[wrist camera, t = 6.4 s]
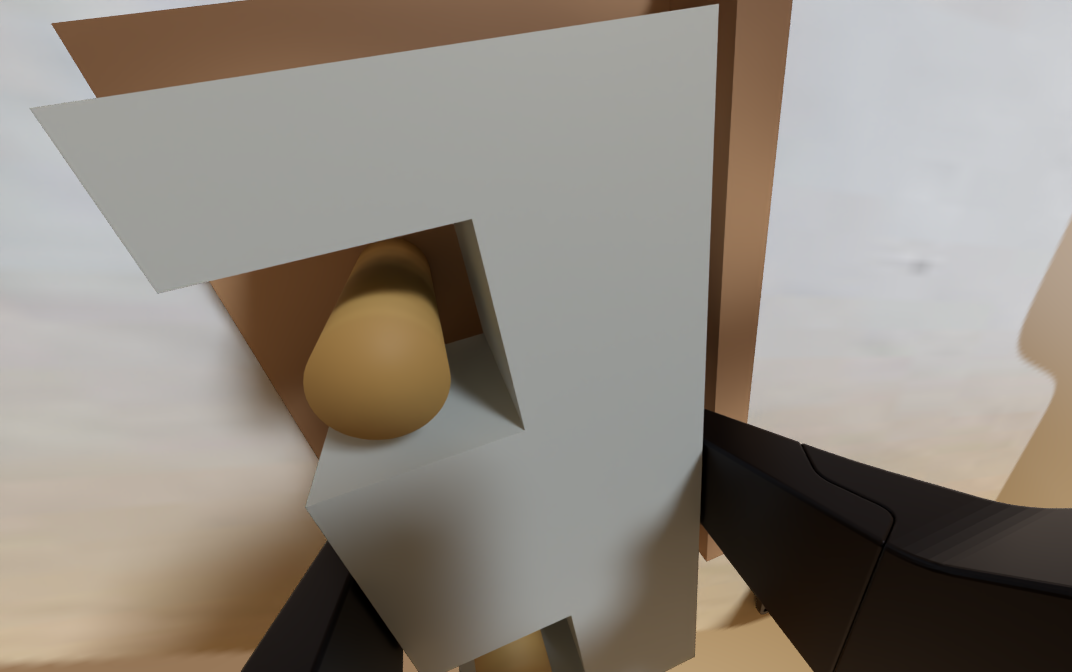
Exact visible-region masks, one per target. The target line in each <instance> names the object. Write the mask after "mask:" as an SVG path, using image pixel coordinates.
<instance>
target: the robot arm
mask: <svg viewBox="0 0 1072 672" xmlns="http://www.w3.org/2000/svg"><path fill="white" fill-rule="evenodd" d="M700 523H701V525H702V526H703V527H704V529H705V530H706V531H707V532H708V534H709V535H710V536H711V538H712V539H713V540H714V542H715V543H716V544H717V546H718V547H719V548H720V550H721V551H722V552H723V553H724V555H725V556H726V557H727V559H728V560H729V561H730V563H731V564H732V565H733V567H734V568H735V569H736V570H737V572H738V573H739V574H740V576H741V577H742V578H743V580H744V581H745V582H746V584H747V585H748V586H749V588H750V589H751V590H752V591H753V593H754V594H755V595H756V597H757V601H756V609H757V610H758V611H759V613H760V614H766V613H768V612H769V614H770V615H771V616H772V618H773V619H774V620H775V622H776V623H777V624H778V625H779V627H780V628H781V629H782V631H783V632H784V633H785V635H786V636H787V637H788V639H789V640H790V641H791V643H792V644H793V645H794V646H795V648H796V649H797V650H798V652H799V653H800V654H801V656H802V657H803V658H804V660H805V661H806V662H807V663H808V665H809V666H810V667H811V669H812V670H813V671H814V672H1072V508H1063V509H1062V508H1035V507H1025V506H1017V505H1010V504H1005V503H1000V502H996V501H992V500H988V499H984V498H980V497H976V496H973V495H969V494H966V493H962V492H959V491H956V490H952V489H949V488H945V487H942V486H938V485H935V484H931V483H928V482H924V481H921V480H917V479H914V478H910V477H907V476H903V475H900V474H896V473H893V472H889V471H886V470H883V469H880V468H876V467H873V466H870V465H866V464H863V463H860V462H856V461H853V460H850V459H847V458H844V457H841V456H838V455H835V454H832V453H829V452H826V451H823V450H821V449H818V448H815V447H812V446H809V445H807V444H800V443H799V442H798V441H795V440H792V439H789V438H786V437H784V436H781V435H778V434H775V433H772V432H769V431H767V430H764V429H761V428H758V427H755V426H753V425H750V424H747V423H744V422H741V421H738V420H736V419H733V418H730V417H727V416H724V415H721V414H719V413H716V412H713V411H710V410H707V409H705V408H704V421H703V448H702V476H701V503H700ZM241 672H403V649H402V647H401V646H400V644H399V643H398V641H397V640H396V638H395V637H394V635H393V634H392V633H391V631H390V630H389V628H388V627H387V625H386V624H385V622H384V621H383V620H382V618H381V617H380V615H379V614H378V612H377V611H376V609H375V608H374V607H373V605H372V604H371V602H370V601H369V599H368V598H367V596H366V595H365V593H364V592H363V591H362V589H361V588H360V586H359V585H358V583H357V582H356V580H355V579H354V578H353V576H352V575H351V573H350V572H349V570H348V569H347V567H346V566H345V565H344V563H343V562H342V560H341V559H340V557H339V556H338V554H337V553H336V551H335V550H334V549H333V547H332V546H331V544H330V543H329V541H328V540H327V541H326V543H325V544H324V546H323V548H322V549H321V551H320V552H319V554H318V555H317V557H316V558H315V560H314V561H313V563H312V564H311V566H310V567H309V569H308V570H307V572H306V573H305V575H304V576H303V578H302V579H301V581H300V582H299V584H298V585H297V587H296V588H295V590H294V591H293V593H292V594H291V596H290V597H289V599H288V601H287V602H286V604H285V605H284V607H283V608H282V610H281V611H280V613H279V614H278V616H277V617H276V619H275V620H274V622H273V623H272V625H271V626H270V628H269V629H268V631H267V632H266V634H265V635H264V637H263V638H262V640H261V641H260V643H259V644H258V646H257V647H256V649H255V651H254V652H253V654H252V655H251V657H250V658H249V660H248V661H247V663H246V664H245V666H244V667H243V669H242V670H241Z"/></svg>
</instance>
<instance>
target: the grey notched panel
mask: <svg viewBox="0 0 1072 672" xmlns="http://www.w3.org/2000/svg"><path fill="white" fill-rule="evenodd" d="M718 13H719V4H714V5H707V6H701V7H694V8H688V9H681V10H674V11H668V12H661V13H655V14H648V15H641V16H635V17H628V18H622V19H615V20H608V21H602V22H595V23H589V24H582V25H576V26H569V27H562V28H556V29H549V30H543V31H536V32H529V33H523V34H516V35H510V36H503V37H496V38H490V39H483V40H477V41H470V42H463V43H457V44H450V45H444V46H437V47H431V48H424V49H417V50H411V51H404V52H398V53H391V54H384V55H378V56H371V57H365V58H358V59H351V60H345V61H338V62H332V63H325V64H318V65H312V66H305V67H299V68H292V69H286V70H279V71H272V72H266V73H259V74H253V75H246V76H239V77H233V78H226V79H220V80H213V81H206V82H200V83H193V84H187V85H180V86H173V87H167V88H160V89H154V90H147V91H141V92H134V93H127V94H121V95H114V96H108V97H101V98H94V99H88V100H81V101H75V102H68V103H61V104H55V105H48V106H42V107H35V108H30V110H31V111H32V113H33V114H34V116H35V117H36V118H37V120H38V121H39V123H40V124H41V126H42V127H43V129H44V130H45V131H46V133H47V134H48V136H49V137H50V139H51V140H52V142H53V143H54V145H55V146H56V147H57V149H58V150H59V152H60V153H61V155H62V156H63V158H64V159H65V160H66V162H67V163H68V165H69V166H70V168H71V169H72V171H73V172H74V173H75V175H76V176H77V178H78V179H79V181H80V182H81V184H82V185H83V187H84V188H85V189H86V191H87V192H88V194H89V195H90V197H91V198H92V200H93V201H94V202H95V204H96V205H97V207H98V208H99V210H100V211H101V213H102V214H103V215H104V217H105V218H106V220H107V221H108V223H109V224H110V226H111V227H112V229H113V230H114V231H115V233H116V234H117V236H118V237H119V239H120V240H121V242H122V243H123V244H124V246H125V247H126V249H127V250H128V252H129V253H130V255H131V256H132V257H133V259H134V260H135V262H136V263H137V265H138V266H139V268H140V269H141V271H142V272H143V273H144V275H145V276H146V278H147V279H148V281H149V282H150V284H151V285H152V286H153V288H154V289H155V291H156V292H157V294H158V293H163V292H167V291H171V290H175V289H179V288H184V287H188V286H192V285H196V284H200V283H205V282H209V281H213V280H217V279H221V278H226V277H230V276H234V275H238V274H242V273H247V272H251V271H255V270H259V269H263V268H268V267H272V266H276V265H280V264H284V263H289V262H293V261H297V260H301V259H305V258H310V257H314V256H318V255H322V254H326V253H331V252H335V251H339V250H343V249H348V248H352V247H356V246H360V245H364V244H369V243H373V242H377V241H381V240H385V239H390V238H394V237H398V236H402V235H406V234H411V233H415V232H419V231H423V230H427V229H432V228H436V227H440V226H444V225H448V224H454V227H455V231H456V235H457V238H458V242H459V246H460V249H461V253H462V256H463V260H464V264H465V267H466V271H467V275H468V278H469V282H470V286H471V289H472V293H473V297H474V300H475V304H476V308H477V311H478V315H479V318H480V322H481V326H482V329H483V333H482V334H479V335H476V336H472V337H469V338H465V339H462V340H459V341H455V342H452V343H448V344H445V348H446V353H447V358H448V364H449V369H450V376H451V383H450V390H449V394H448V397H447V399H446V401H445V403H444V405H443V407H442V408H441V410H440V411H439V412H438V414H437V415H436V416H435V417H434V418H433V419H432V420H431V421H429V422H428V423H427V424H426V425H424V426H423V427H421V428H420V429H418V430H416V431H414V432H412V433H409V434H407V435H404V436H400V437H397V438H392V439H384V440H367V439H359V438H355V437H351V436H348V435H345V434H342V433H340V432H338V431H336V430H334V429H332V428H331V427H329V428H328V432H327V435H326V439H325V442H324V445H323V449H322V452H321V455H320V459H319V462H318V466H317V469H316V472H315V476H314V479H313V482H312V486H311V489H310V493H309V496H308V499H307V503H306V506H305V508H306V509H307V511H308V512H309V514H310V515H311V517H312V518H313V520H314V521H315V523H316V524H317V525H318V527H319V528H320V530H321V531H322V533H323V534H324V536H325V537H326V538H327V540H328V541H329V543H330V544H331V546H332V547H333V549H334V550H335V551H336V553H337V554H338V556H339V557H340V559H341V560H342V562H343V563H344V565H345V566H346V567H347V569H348V570H349V572H350V573H351V575H352V576H353V578H354V579H355V580H356V582H357V583H358V585H359V586H360V588H361V589H362V591H363V592H364V593H365V595H366V596H367V598H368V599H369V601H370V602H371V604H372V605H373V607H374V608H375V609H376V611H377V612H378V614H379V615H380V617H381V618H382V620H383V621H384V622H385V624H386V625H387V627H388V628H389V630H390V631H391V633H392V634H393V635H394V637H395V638H396V640H397V641H398V643H399V644H400V646H401V647H402V649H403V650H404V651H405V653H406V654H407V656H408V657H409V659H410V660H411V662H412V663H413V664H414V666H415V667H416V669H417V670H418V672H447V671H449V670H451V669H454V668H456V667H458V666H459V672H476V668H475V661H474V659H476V658H478V657H480V656H482V655H485V654H487V653H489V652H491V651H493V650H496V649H498V648H500V647H502V646H504V645H507V644H509V643H511V642H513V641H516V640H518V639H520V638H522V637H524V636H527V635H529V634H531V633H533V632H535V631H538V630H541V634H542V637H543V641H544V644H545V648H546V652H547V655H548V659H549V662H550V666H551V670H552V672H665V671H667V670H669V669H671V668H673V667H675V666H677V665H679V664H681V663H683V662H685V661H687V660H689V659H691V658H693V657H695V639H696V637H695V636H696V611H697V584H698V557H699V530H700V503H701V476H702V448H703V421H704V394H705V367H706V340H707V312H708V285H709V258H710V231H711V204H712V176H713V149H714V122H715V95H716V68H717V40H718Z"/></svg>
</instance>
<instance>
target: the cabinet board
mask: <svg viewBox="0 0 1072 672" xmlns="http://www.w3.org/2000/svg"><path fill="white" fill-rule="evenodd" d="M792 1H793V0H245V1H236V2H228V3H219V4H211V5H202V6H194V7H186V8H177V9H169V10H160V11H152V12H143V13H135V14H127V15H118V16H110V17H101V18H93V19H84V20H76V21H68V22H59V23H51V24H52V26H53V27H54V29H55V31H56V32H57V34H58V35H59V37H60V39H61V40H62V42H63V44H64V45H65V47H66V49H67V50H68V52H69V53H70V55H71V57H72V58H73V60H74V62H75V63H76V65H77V66H78V68H79V70H80V71H81V73H82V75H83V76H84V78H85V79H86V81H87V83H88V84H89V86H90V88H91V89H92V91H93V93H94V94H95V96H96V97H97V98H101V97H108V96H114V95H121V94H127V93H134V92H141V91H147V90H154V89H160V88H167V87H173V86H180V85H187V84H193V83H200V82H206V81H213V80H220V79H226V78H233V77H239V76H246V75H253V74H259V73H266V72H272V71H279V70H286V69H292V68H299V67H305V66H312V65H318V64H325V63H332V62H338V61H345V60H351V59H358V58H365V57H371V56H378V55H384V54H391V53H398V52H404V51H411V50H417V49H424V48H431V47H437V46H444V45H450V44H457V43H463V42H470V41H477V40H483V39H490V38H496V37H503V36H510V35H516V34H523V33H529V32H536V31H543V30H549V29H556V28H562V27H569V26H576V25H582V24H589V23H595V22H602V21H608V20H615V19H622V18H628V17H635V16H641V15H648V14H655V13H661V12H668V11H674V10H681V9H688V8H694V7H701V6H707V5H714V4H719V13H718V40H717V68H716V95H715V122H714V149H713V176H712V204H711V231H710V258H709V285H708V312H707V340H706V367H705V394H704V408H705V409H707V410H710V411H713V412H716V413H719V414H721V415H724V416H727V417H730V418H733V419H736V420H738V421H741V422H744V423H747V419H748V410H749V400H750V391H751V382H752V372H753V363H754V354H755V345H756V335H757V326H758V317H759V307H760V298H761V289H762V279H763V270H764V261H765V252H766V242H767V233H768V224H769V214H770V205H771V196H772V187H773V177H774V168H775V159H776V149H777V140H778V131H779V122H780V112H781V103H782V94H783V84H784V75H785V66H786V57H787V47H788V38H789V29H790V19H791V10H792ZM209 282H210V283H211V285H212V287H213V288H214V290H215V291H216V293H217V295H218V296H219V298H220V300H221V301H222V303H223V304H224V306H225V308H226V309H227V311H228V313H229V314H230V316H231V318H232V319H233V321H234V322H235V324H236V326H237V327H238V329H239V331H240V332H241V334H242V335H243V337H244V339H245V340H246V342H247V344H248V345H249V347H250V348H251V350H252V352H253V353H254V355H255V357H256V358H257V360H258V362H259V363H260V365H261V366H262V368H263V370H264V371H265V373H266V375H267V376H268V378H269V379H270V381H271V383H272V384H273V386H274V388H275V389H276V391H277V393H278V394H279V396H280V397H281V399H282V401H283V402H284V404H285V406H286V407H287V409H288V410H289V412H290V414H291V415H292V417H293V419H294V420H295V422H296V423H297V425H298V427H299V428H300V430H301V432H302V433H303V435H304V437H305V438H306V440H307V441H308V443H309V445H310V446H311V448H312V450H313V451H314V453H315V454H316V456H317V458H318V459H320V455H321V452H322V449H323V445H324V442H325V439H326V435H327V432H328V428H329V427H331V428H332V429H334V430H336V431H338V432H340V433H342V434H345V435H348V436H351V437H355V438H359V439H367V440H384V439H392V438H397V437H400V436H404V435H407V434H409V433H412V432H414V431H416V430H418V429H420V428H421V427H423V426H424V425H426V424H427V423H428V422H429V421H431V420H432V419H433V418H434V417H435V416H436V415H437V414H438V412H439V411H440V410H441V408H442V407H443V405H444V403H445V401H446V399H447V397H448V394H449V390H450V383H451V376H450V369H449V364H448V358H447V353H446V348H445V344H448V343H452V342H455V341H459V340H462V339H465V338H469V337H472V336H476V335H479V334H482V333H483V329H482V326H481V322H480V318H479V315H478V311H477V308H476V304H475V300H474V297H473V293H472V289H471V286H470V282H469V278H468V275H467V271H466V267H465V264H464V260H463V256H462V253H461V249H460V246H459V242H458V238H457V235H456V231H455V227H454V224H448V225H444V226H440V227H436V228H432V229H427V230H423V231H419V232H415V233H411V234H406V235H402V236H398V237H394V238H390V239H385V240H381V241H377V242H373V243H369V244H364V245H360V246H356V247H352V248H348V249H343V250H339V251H335V252H331V253H326V254H322V255H318V256H314V257H310V258H305V259H301V260H297V261H293V262H289V263H284V264H280V265H276V266H272V267H268V268H263V269H259V270H255V271H251V272H247V273H242V274H238V275H234V276H230V277H226V278H221V279H217V280H213V281H209ZM699 552H700V553H701V555H702V556H703V557H704V559H705V560H706V562H707V561H709V560H711V559H713V558H716V557H718V556H720V555H722V554H724V553H723V552H722V551H721V550H720V548H719V547H718V546H717V544H716V543H715V542H714V540H713V539H712V538H711V536H710V535H709V534H708V532H707V531H706V530H705V529H704V527H703V526H702V525H701V523H700V530H699ZM474 661H475V668H476V672H552V670H551V666H550V662H549V659H548V655H547V652H546V648H545V644H544V641H543V637H542V634H541V630H538V631H535V632H533V633H531V634H529V635H527V636H524V637H522V638H520V639H518V640H516V641H513V642H511V643H509V644H507V645H504V646H502V647H500V648H498V649H496V650H493V651H491V652H489V653H487V654H485V655H482V656H480V657H478V658H476V659H474Z"/></svg>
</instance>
